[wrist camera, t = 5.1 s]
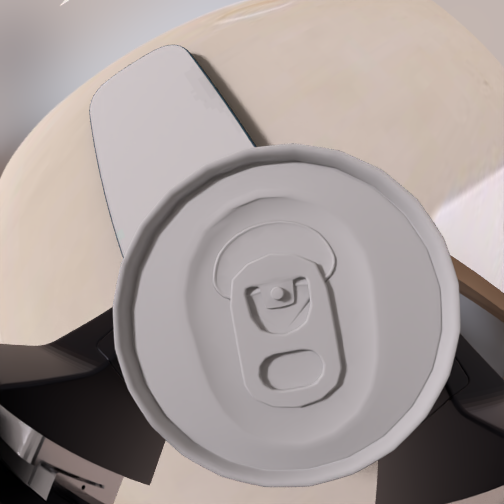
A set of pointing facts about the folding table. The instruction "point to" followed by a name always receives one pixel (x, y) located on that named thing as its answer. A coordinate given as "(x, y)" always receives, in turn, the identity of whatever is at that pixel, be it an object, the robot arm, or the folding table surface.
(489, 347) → the bay
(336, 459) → the beverage can
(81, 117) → the folding table surface
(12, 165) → the folding table surface
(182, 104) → the external hard drive
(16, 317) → the folding table surface
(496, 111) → the folding table surface
